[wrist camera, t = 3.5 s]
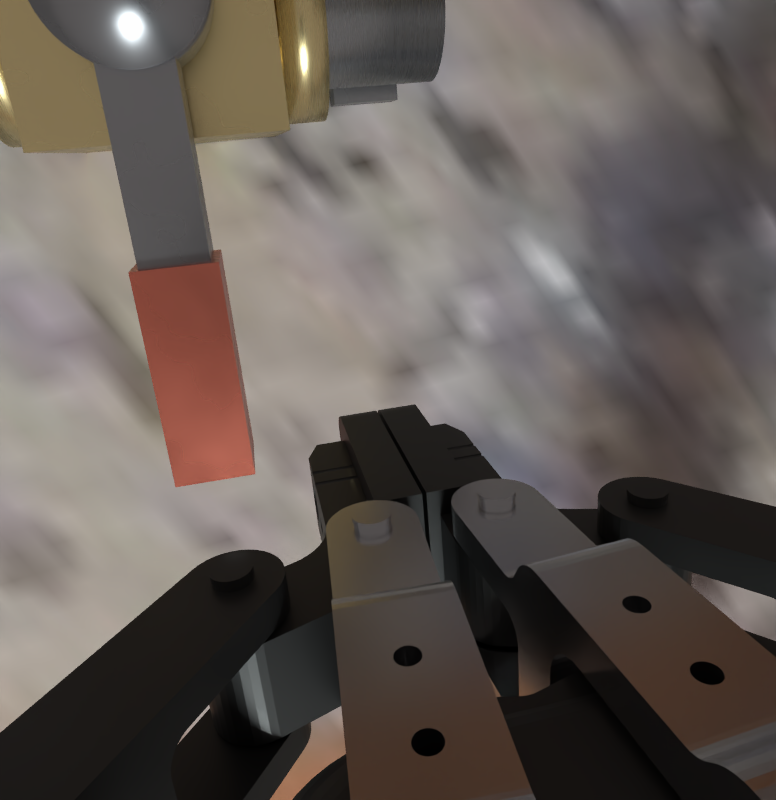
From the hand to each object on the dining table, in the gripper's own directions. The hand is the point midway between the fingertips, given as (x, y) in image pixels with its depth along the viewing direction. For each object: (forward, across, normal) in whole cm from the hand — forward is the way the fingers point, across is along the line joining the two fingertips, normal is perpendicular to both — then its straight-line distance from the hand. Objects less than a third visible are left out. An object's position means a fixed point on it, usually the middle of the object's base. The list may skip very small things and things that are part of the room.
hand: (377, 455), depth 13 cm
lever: (+8, +4, -4) cm, 10 cm away
